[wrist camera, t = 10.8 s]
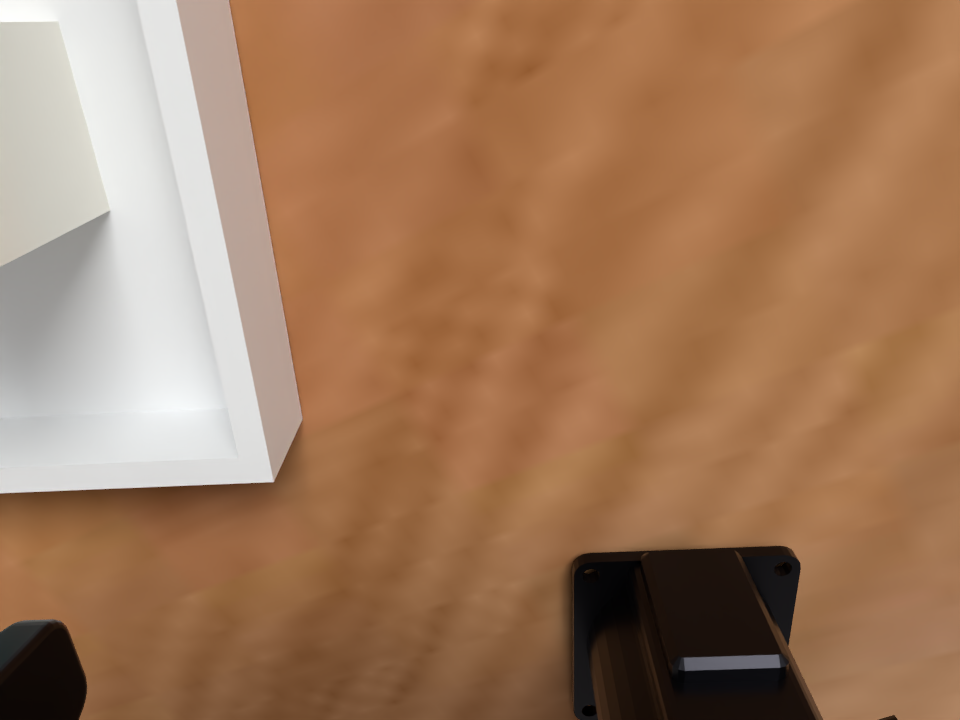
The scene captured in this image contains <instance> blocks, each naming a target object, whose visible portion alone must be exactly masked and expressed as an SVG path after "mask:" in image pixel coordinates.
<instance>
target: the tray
mask: <svg viewBox="0 0 960 720" xmlns="http://www.w3.org/2000/svg"><path fill="white" fill-rule="evenodd" d="M49 21H58V22H59V26H60V29H61V33H62V37H63V40H64V44H65V47H66V51H67V55H68V58H69V62H70V66H71V69H72V73H73V77H74V80H75V84H76V87H77V91H78V95H79V98H80V102H81V106H82V109H83V113H84V116H85V120H86V124H87V127H88V131H89V135H90V138H91V142H92V146H93V149H94V153H95V156H96V160H97V164H98V167H99V171H100V175H101V178H102V182H103V185H104V189H105V193H106V196H107V200H108V204H109V207H110V211H108V212H106V213H104V214H102V215H100V216H98V217H96V218H94V219H92V220H90V221H88V222H86V223H85V224H83V225H81V226H79V227H77V228H75V229H73V230H71V231H69V232H67V233H65V234H63V235H61V236H59V237H57V238H55V239H53V240H51V241H49V242H48V243H46V244H44V245H42V246H40V247H38V248H36V249H34V250H32V251H30V252H28V253H26V254H24V255H22V256H20V257H18V258H16V259H14V260H12V261H11V262H9V263H7V264H5V265H3V266H1V267H0V493H20V492H44V491H68V490H93V489H117V488H142V487H166V486H190V485H215V484H239V483H264V482H274V481H275V478H276V476H277V474H278V472H279V470H280V467H281V465H282V463H283V461H284V459H285V456H286V454H287V452H288V450H289V448H290V446H291V443H292V441H293V439H294V437H295V435H296V432H297V430H298V428H299V426H300V424H301V422H302V419H303V418H302V413H301V407H300V401H299V396H298V390H297V384H296V379H295V373H294V367H293V362H292V356H291V350H290V345H289V339H288V333H287V328H286V322H285V316H284V311H283V305H282V299H281V293H280V288H279V282H278V276H277V271H276V265H275V259H274V254H273V248H272V242H271V237H270V231H269V225H268V220H267V214H266V208H265V203H264V197H263V191H262V186H261V180H260V174H259V169H258V163H257V157H256V152H255V146H254V140H253V134H252V129H251V123H250V117H249V112H248V106H247V100H246V95H245V89H244V83H243V78H242V72H241V66H240V61H239V55H238V49H237V44H236V38H235V32H234V27H233V21H232V15H231V10H230V4H229V0H0V22H49Z"/></svg>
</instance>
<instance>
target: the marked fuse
mask: <svg viewBox="0 0 960 720" xmlns="http://www.w3.org/2000/svg"><path fill="white" fill-rule="evenodd" d="M108 211H110V207H109V204H108V200H107V196H106V193H105V189H104V185H103V182H102V178H101V175H100V171H99V167H98V164H97V160H96V156H95V153H94V149H93V146H92V142H91V138H90V135H89V131H88V127H87V124H86V120H85V116H84V113H83V109H82V106H81V102H80V98H79V95H78V91H77V87H76V84H75V80H74V77H73V73H72V69H71V66H70V62H69V58H68V55H67V51H66V47H65V44H64V40H63V37H62V33H61V29H60V26H59V22H58V21H49V22H0V267H1V266H3V265H5V264H7V263H9V262H11V261H12V260H14V259H16V258H18V257H20V256H22V255H24V254H26V253H28V252H30V251H32V250H34V249H36V248H38V247H40V246H42V245H44V244H46V243H48V242H49V241H51V240H53V239H55V238H57V237H59V236H61V235H63V234H65V233H67V232H69V231H71V230H73V229H75V228H77V227H79V226H81V225H83V224H85V223H86V222H88V221H90V220H92V219H94V218H96V217H98V216H100V215H102V214H104V213H106V212H108Z"/></svg>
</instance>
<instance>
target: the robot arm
mask: <svg viewBox="0 0 960 720" xmlns="http://www.w3.org/2000/svg"><path fill="white" fill-rule="evenodd" d="M781 562H786V563H785V564H783V565H782V566H779V567H775V566H776V565H777V564H779V563H781ZM589 569H594V570H596V571H595V572H594V573H590V574H588V573H584V572H585V571H586V570H589ZM800 569H801V567H800V562H799V560H798V559H797V557H796V555H795V554H794V552H793V551H792V550H791V549H790V548H788V547H783V546H770V547H743V548H716V549H690V550H663V551H636V552H610V553H588V554H583V555H581V556H579V557H578V558H577V559H576V560H575V561H574V563H573V567H572V631H573V707H574V713H575V716H576V717H577V718H578V719H580V720H823V718H822V716H821V714H820V712H819V710H818V708H817V706H816V704H815V702H814V700H813V697H812V695H811V693H810V691H809V689H808V687H807V685H806V683H805V681H804V679H803V677H802V674H801V672H800V670H799V668H798V666H797V664H796V662H795V660H794V658H793V656H792V654H791V651H790V649H789V647H788V644H789V638H790V632H791V625H792V619H793V613H794V607H795V600H796V594H797V588H798V582H799V575H800ZM86 694H87V682H86V676H85V673H84V670H83V668H82V665H81V663H80V660H79V657H78V655H77V652H76V649H75V647H74V644H73V641H72V639H71V636H70V633H69V631H68V629H67V627H66V626H65V625H64V624H63V623H62V622H61V621H58V620H53V619H52V620H25V621H20V622H17V623H14V624H12V625H11V626H9V627H7V628H6V629H4V630H3V631H1V632H0V720H79V718H80V715H81V712H82V710H83V707H84V703H85V699H86ZM588 705H591V706H588ZM879 720H897V718H896V717H895V715H893V716H889V717H886V718H883V719H879Z"/></svg>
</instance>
